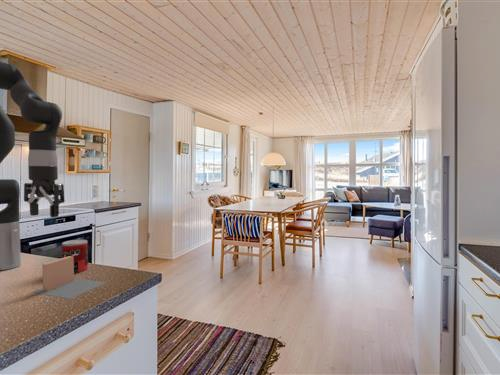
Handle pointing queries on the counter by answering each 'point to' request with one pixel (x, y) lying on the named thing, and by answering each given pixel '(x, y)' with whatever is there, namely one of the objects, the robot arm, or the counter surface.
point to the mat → (71, 288)
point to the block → (58, 273)
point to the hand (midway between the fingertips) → (44, 216)
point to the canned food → (76, 253)
